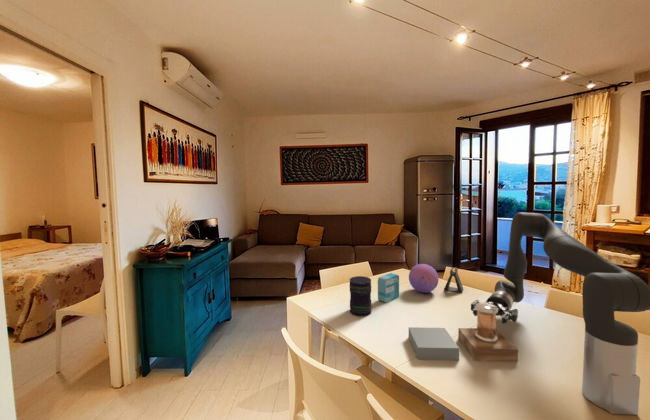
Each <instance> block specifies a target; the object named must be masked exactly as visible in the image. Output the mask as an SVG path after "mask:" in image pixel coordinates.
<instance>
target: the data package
mask: <svg viewBox="0 0 650 420" xmlns="http://www.w3.org/2000/svg"><path fill="white" fill-rule="evenodd" d="M399 296H400V275H399V274H396V273H392V272H389V273H387V274H384V275H381V276H379V277H378V278H377V299H378V301H380V302H384V303H386V304H387V303H389V302H391V301H393V300H396V299H397V298H399Z"/></svg>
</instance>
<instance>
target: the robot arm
mask: <svg viewBox="0 0 650 420" xmlns="http://www.w3.org/2000/svg"><path fill="white" fill-rule="evenodd" d="M509 231H510V233H509V241H508V242H509V243H508V244H509V245H508V254H507V255H508V256H507V260H506V263H505V268H504V271H503V277H504V278H505V279H506V280H498V281H497V282H496V283H495V285H494V292H493V293H491V295H489V297H488V298H487V299H486V301H484V302H483V303H488V304H492V305H495V306H496V307H498V313H497V314H496V317H499V318H501V324H502V325H505V324H508V322H510V321H512V322H513V323H516V322H517V320H518V317H519V309H517V308H513V309H512V307H513V304H514V303H520V302H521V301H523V299H524V296H525V291H524V279H525V274H526V271H527V268H528V260H527V258H526V255H525V252H524V250H523V248H522V238H523V237H534V238H539V239H542V240H543V244H542V245H543V246H542V247H543V251H544V253H545V255H546V256H547V257H548V258H550V259H551V260H552V262H554V263H555V264H556V265H558V266H559V267H561V268H563V269H564V270H565V271H566V270H567V271H569V272H572V273H574V274H576V275H579V276H582V277H584V279H583V281H582V287H581V289H582V294H581V295H582V317H583V321H584V344H583V360H582V361H583V362H582V363H583V364H582V382H581V383H582V384H581V386H582V387H581V393H582V395H583V396H584V397H585V398H586V399H587V400H588V401H589V402H591V403H592V404H594V405H596V406H597V407H599V408H601V409H604V410H605V411H607V412H608V413H609V414H612V415H633V416H634V415H636V416H637V415H639V401H640V387H641V378H640V376H638V375H636V373H637V361H638V360H637V357H638V343H639V334H638V331H637V330H636V329H635V328H633V327H632V326H630V325H628V324H626V323H624V322H622V321H619V320H616V319H615V312H621V313H624V312H625V313H640V312H645V311H648V310H650V286H649V285H648V284H647V283H646V282H645V281H644V280H643V279H642V278H640V277H639V276H638V275H636V274H635V273H632V272H630V271H628V270H626V269H624V268H623V267H621V266H618V265H617V264H614V263H613V262H611V261H609V260H608V259H606V258H604V257H603V256H601V255H600V254H598V253H597V252H596V251H594V250H592V249H591V248H589V247H587V246H586V245H585V244H584V243H582V242H580V241H579V240H578V239H577V238H575V237H573V236H571V235H570V234H568V232H566V231H565V230H563V229H562V228H561V227H559V226H557V224H555V223H554V222H553V221H552V220H551V219H550V218H549V217H548V216H547V215H545V214H542V213H537V212H536V213H535V212H525V211H524V212H523V211H522V212H521V211H520V212H517V213H515V214H514V216H513V217H512V220H511V224H510V230H509ZM477 303H481V302H480V300H478V299H475V300H474V301H472V302H471V303H470V311H471V312H472V315H473V316H474V317H477V310H476V304H477Z"/></svg>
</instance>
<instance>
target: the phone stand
mask: <svg viewBox="0 0 650 420" xmlns="http://www.w3.org/2000/svg"><path fill="white" fill-rule="evenodd" d="M458 271H459V270H458V268H457V267H456V266H452V267H451V268H450V271H449V277H448V279H447V282H446V284H445V286H444V289H443V291H448V292H453V293H459V294H463V292H464V287H463V284H462V281H461V279H460V276H459V274H458V273H459V272H458ZM453 277H454V280H455V285H456V287H453V286H451V282H452V278H453Z"/></svg>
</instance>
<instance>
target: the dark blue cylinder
mask: <svg viewBox="0 0 650 420" xmlns="http://www.w3.org/2000/svg"><path fill="white" fill-rule="evenodd" d="M371 294H372V279H371V278H370V277H367V276H361V275H358V276H352V277H350V278H349V295H350V299H349V308H350V310H349V313H350V314H351V315H353V316H355V317H361V316H362V317H363V318H364V317H368V316H370V315H371V314H372V299H371V297H372V296H371Z"/></svg>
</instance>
